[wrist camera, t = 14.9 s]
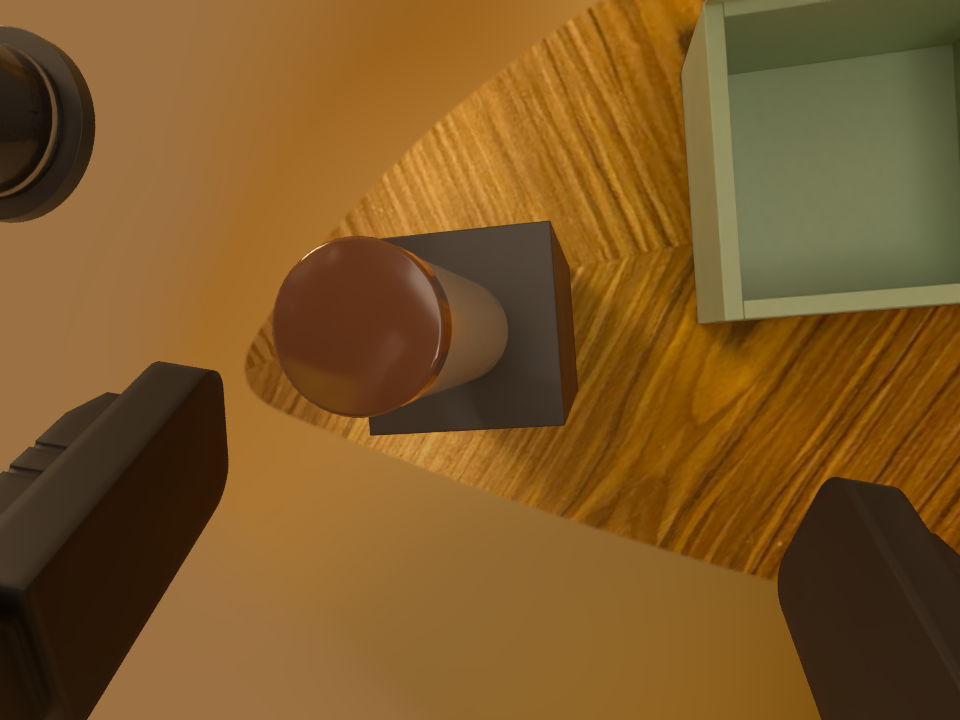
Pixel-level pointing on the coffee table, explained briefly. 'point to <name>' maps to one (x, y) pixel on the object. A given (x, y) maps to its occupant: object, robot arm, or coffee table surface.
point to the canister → (381, 327)
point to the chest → (823, 156)
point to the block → (531, 332)
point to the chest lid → (716, 1)
